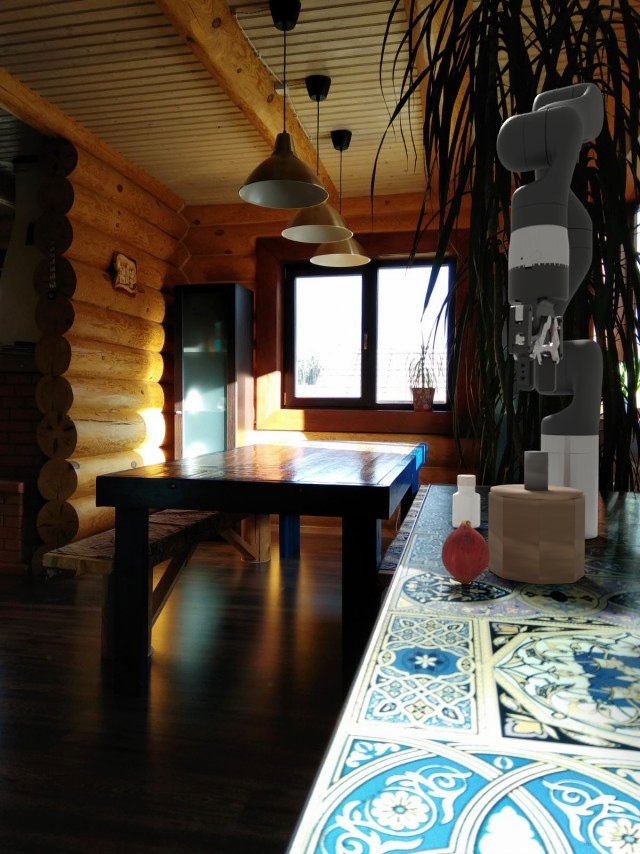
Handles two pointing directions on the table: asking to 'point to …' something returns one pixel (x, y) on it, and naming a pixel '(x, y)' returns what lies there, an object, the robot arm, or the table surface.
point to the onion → (465, 553)
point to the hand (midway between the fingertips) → (536, 390)
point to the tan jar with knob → (536, 528)
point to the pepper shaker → (466, 502)
